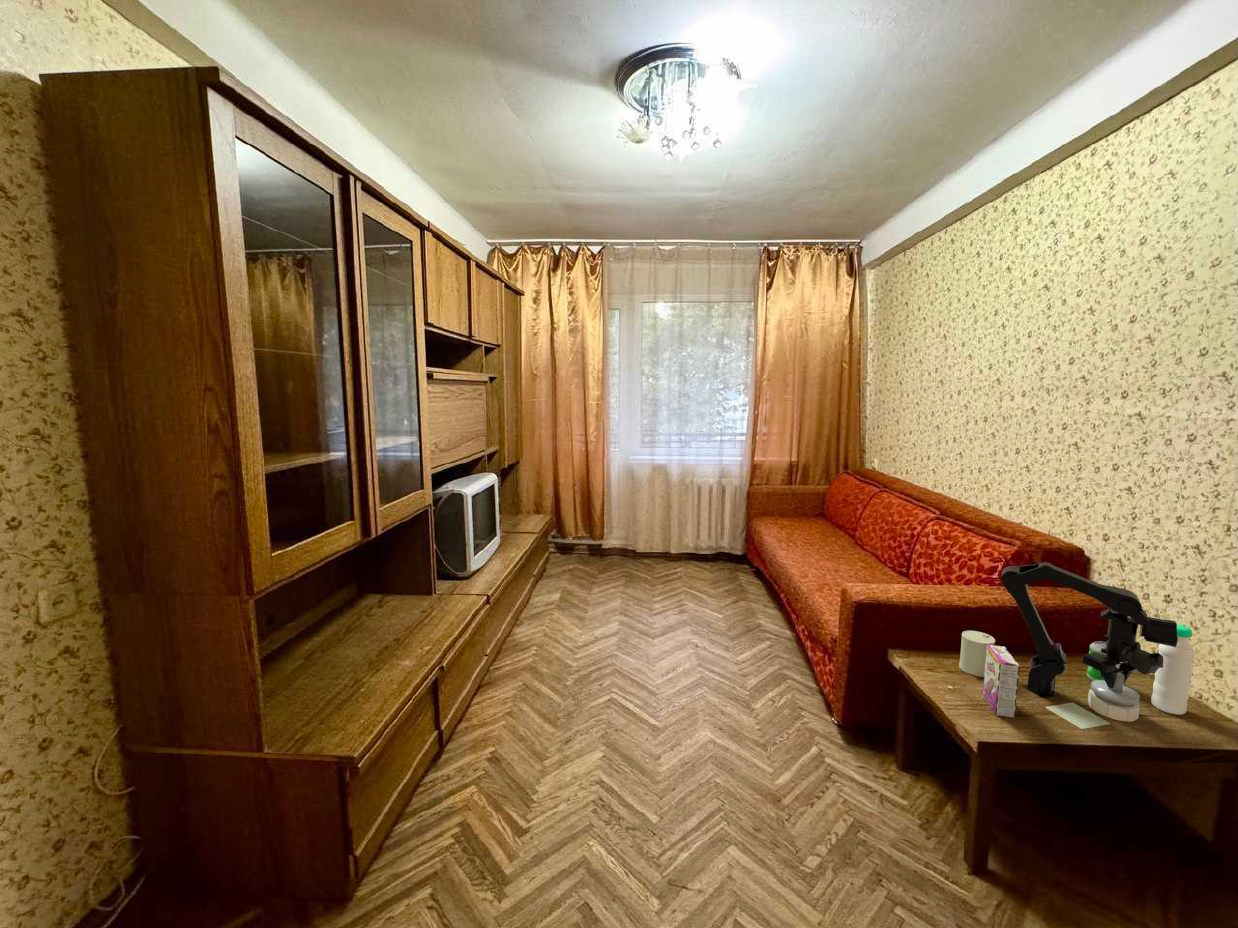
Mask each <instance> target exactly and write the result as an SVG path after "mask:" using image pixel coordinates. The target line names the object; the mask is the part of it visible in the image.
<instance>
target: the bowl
mask: <svg viewBox="0 0 1238 928" xmlns="http://www.w3.org/2000/svg"><path fill="white" fill-rule="evenodd" d="M1087 701H1088V706H1089V707H1090V708H1091V710H1093V711H1095V712H1096V713H1098V714H1100V715H1101V716H1104V717H1106V718H1109V719H1112V720H1116V721H1122V722H1128V723H1129V722H1134V721H1136V720H1138V719H1139V715H1140V709H1141V708H1140V705H1139V703H1137V704H1123V703H1118V702H1114V701H1111V700H1108V699H1106V698H1103V697H1101V696H1099V695H1098V694H1096V693H1095V692H1094V691H1093V690H1092V689H1091V688H1090V689H1088V697H1087Z"/></svg>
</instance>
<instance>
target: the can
mask: <svg viewBox="0 0 1238 928" xmlns="http://www.w3.org/2000/svg"><path fill="white" fill-rule="evenodd" d="M960 642H961V643H960V644H961V645H960V657H959V663H958V666H959V669H960V670H962V671H963V672H965V673H967V674H969V675H971V676H975V677H978V678H984V674H985V660H986V647H987V645H995V646H996V639H995V638H994V637H993V636H992V635H990V634H988V633H985V632H981V631H977V630H964V631H962V633H961V641H960Z"/></svg>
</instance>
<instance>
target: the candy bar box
mask: <svg viewBox="0 0 1238 928" xmlns="http://www.w3.org/2000/svg"><path fill="white" fill-rule="evenodd" d="M1019 672H1020V664H1019V663H1018V662H1017V660H1016V659H1015V658H1014V657H1013V656H1012V654H1011V653H1010V652H1009V650H1008V649H1007V647H1005V646H1002V645H996V644H995V645H987V647H986V660H985V674H984V677H983V689H982V695H983V697H984V698H985V700H986V701H987V703H988V704H989V706H990V707H991V711H993V713H994V715H995V716H998V717H1003V718H1005V717H1008V718H1013V719H1014V718H1016V708H1017V696H1018V686H1019V685H1018V684H1019Z"/></svg>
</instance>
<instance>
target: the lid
mask: <svg viewBox="0 0 1238 928" xmlns="http://www.w3.org/2000/svg"><path fill="white" fill-rule="evenodd" d="M1124 676H1125V675H1124V674H1122V673H1118V674H1117V678H1116V681H1115V685H1114V687H1113V688H1112V689H1111V688H1109V687H1108V686H1107V684H1106V682H1105V680H1095V681H1091V683H1090V690H1091V689H1092V690H1093V691H1094V692H1095V693H1096V694H1098V695H1099V696H1101V697H1103V698H1106V699H1108V700H1111V701H1114V702H1118V703H1123V704H1139V703H1140V699H1141V697H1140V694H1139V693H1138V692H1137V691H1135V690H1134V689H1132V688H1131V687H1128V686H1126V685H1125V683H1124ZM1123 683H1124V685H1123Z"/></svg>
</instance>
